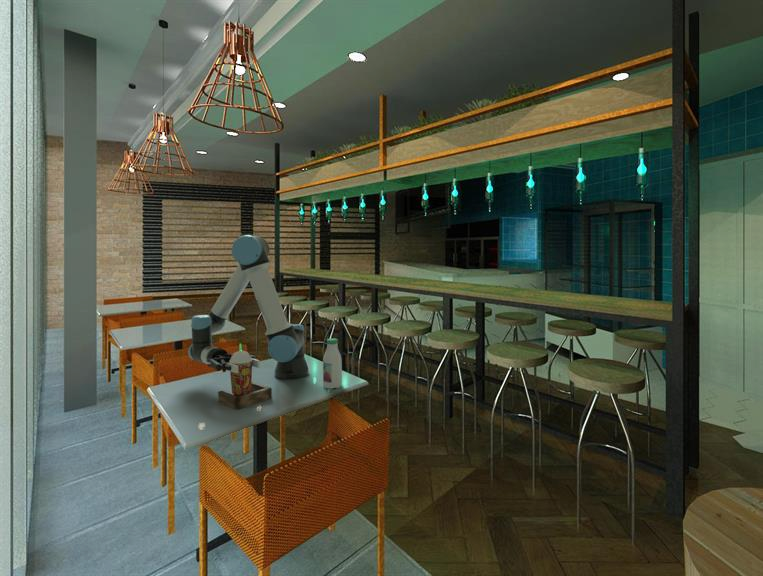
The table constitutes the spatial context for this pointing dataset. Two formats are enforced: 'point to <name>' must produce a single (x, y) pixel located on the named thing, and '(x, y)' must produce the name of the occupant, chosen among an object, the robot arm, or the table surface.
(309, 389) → the table surface
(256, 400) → the holder
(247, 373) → the smoothie
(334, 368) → the milk bottle
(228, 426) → the table surface
